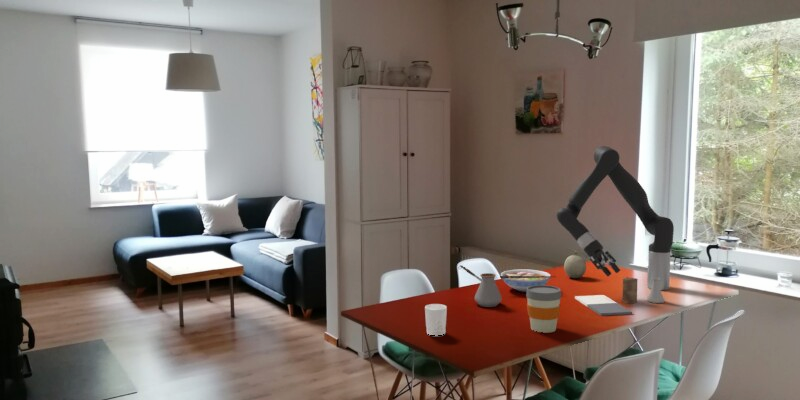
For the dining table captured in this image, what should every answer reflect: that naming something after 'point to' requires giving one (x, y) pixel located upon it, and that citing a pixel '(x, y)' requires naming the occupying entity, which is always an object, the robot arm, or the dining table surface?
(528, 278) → the ramen bowl
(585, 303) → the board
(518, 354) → the dining table surface
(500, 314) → the dining table surface
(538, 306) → the reusable coffee cup
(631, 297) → the block
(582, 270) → the fruit
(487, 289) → the coffee pot
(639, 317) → the dining table surface
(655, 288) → the flask
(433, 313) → the white cup
